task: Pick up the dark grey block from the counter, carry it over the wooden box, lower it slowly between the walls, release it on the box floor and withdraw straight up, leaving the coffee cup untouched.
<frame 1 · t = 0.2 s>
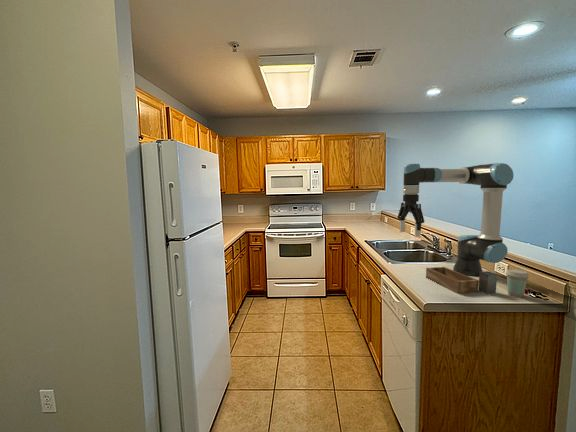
hand: (409, 234, 148), 28 cm above the worktop, tool pointing down, fingers open, 13 cm apart
coffee cup: (515, 295, 136), on the worktop
wooden box: (450, 284, 151), on the worktop
dark grey block: (487, 292, 140), on the worktop
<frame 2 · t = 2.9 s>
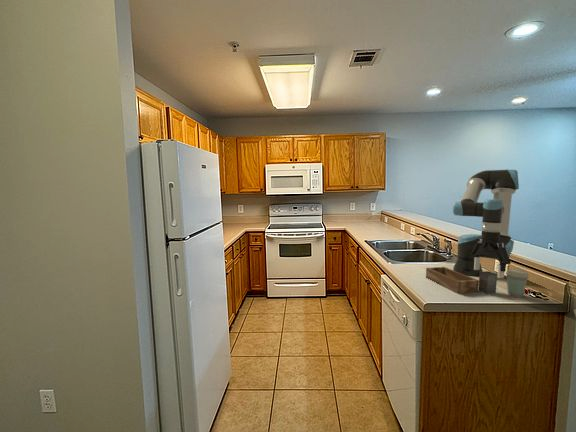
hand: (488, 273, 139), 10 cm above the worktop, tool pointing down, fingers open, 13 cm apart
nothing on the worktop moved.
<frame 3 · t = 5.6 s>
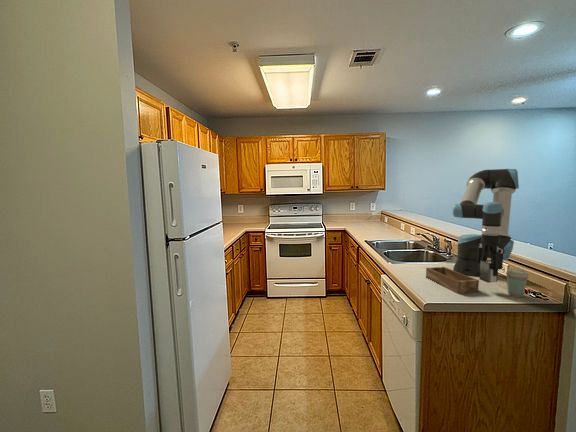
hand: (487, 279, 140), 6 cm above the worktop, tool pointing down, fingers closed on dark grey block, 5 cm apart
dark grey block: (488, 280, 140), point 6 cm above the worktop, touching gripper
everything else where it was.
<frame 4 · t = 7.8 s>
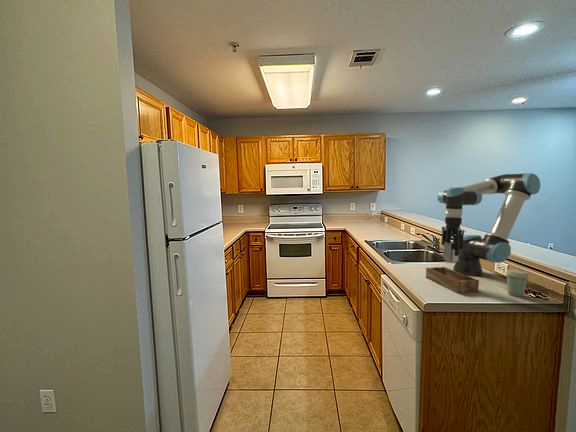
hand: (450, 259, 150), 14 cm above the worktop, tool pointing down, fingers closed on dark grey block, 5 cm apart
dark grey block: (450, 260, 150), point 13 cm above the worktop, touching gripper
everything else where it was.
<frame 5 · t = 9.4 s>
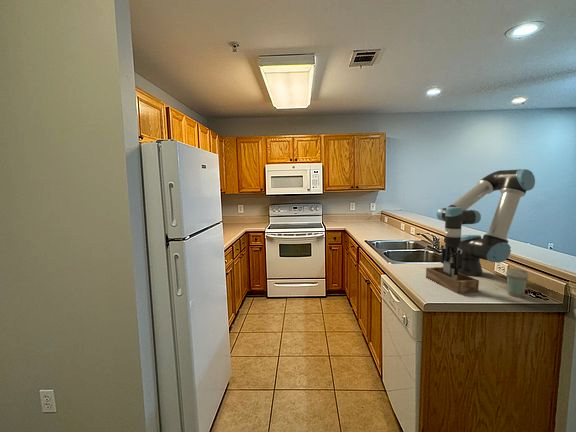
hand: (450, 278, 151), 3 cm above the worktop, tool pointing down, fingers closed on dark grey block, 5 cm apart
dark grey block: (450, 279, 151), point 3 cm above the worktop, touching gripper
everything else where it was.
when the fingers open (2 cm above the worktop, at t = 10.4 s): dark grey block stays where it is, resting on wooden box.
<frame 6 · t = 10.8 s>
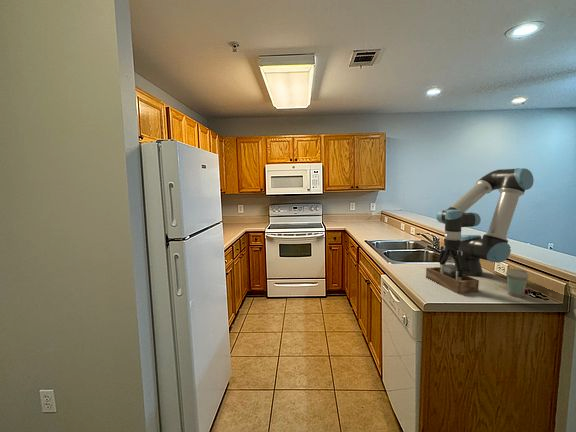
hand: (450, 279, 151), 3 cm above the worktop, tool pointing down, fingers open, 10 cm apart
dark grey block: (450, 283, 151), point 1 cm above the worktop, touching wooden box
everything else where it was.
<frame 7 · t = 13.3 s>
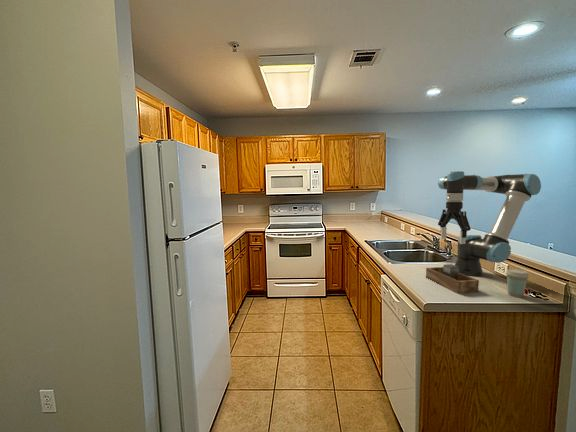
hand: (452, 241, 149), 24 cm above the worktop, tool pointing down, fingers open, 13 cm apart
nothing on the worktop moved.
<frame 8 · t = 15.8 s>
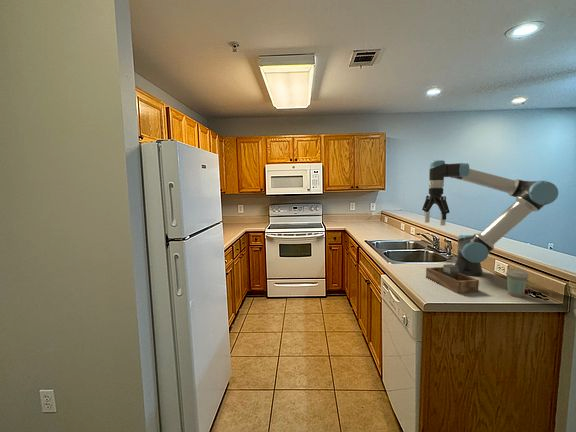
hand: (434, 223, 165), 31 cm above the worktop, tool pointing down, fingers open, 13 cm apart
nothing on the worktop moved.
at the end: dark grey block inside the target area on the wooden box (0.0 cm from its centre), point 0.6 cm above the wooden box's base; dark grey block tilted 0°; the gripper is holding nothing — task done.
